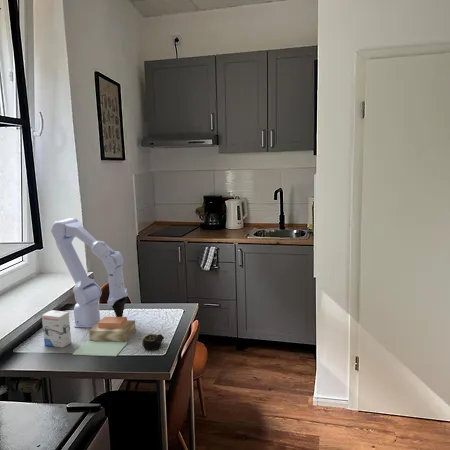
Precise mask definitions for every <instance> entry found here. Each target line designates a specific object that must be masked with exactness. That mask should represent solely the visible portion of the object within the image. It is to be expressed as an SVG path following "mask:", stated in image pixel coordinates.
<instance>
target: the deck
mask: <svg viewBox="0 0 450 450" xmlns="http://www.w3.org/2000/svg"><path fill="white" fill-rule="evenodd" d="M100 321H101V320H100ZM136 326H137V325H136V320H135V319H134V320H132V319H131V320H129V319H127V323H126V324H125V325H124V326H123V327H122V328H98V323H97V324H96V325H95V326H94V327H90V329H89V330H88V334H89V341H100V342H127V341H128V340H129V339H130V338H131V337H132V335H133V334H134V333H135V332H136V331H137V327H136Z"/></svg>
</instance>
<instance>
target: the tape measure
mask: <svg viewBox="0 0 450 450" xmlns="http://www.w3.org/2000/svg"><path fill="white" fill-rule="evenodd" d="M164 339H165V338H164V335H162V334H160V333H159V334H155V333H151V334H147V335H145V336H143V339H142V346H143V348H144V349H145V350H149V351H152V350H158V349H160V348H161V346H162V343H163V340H164Z"/></svg>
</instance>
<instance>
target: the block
mask: <svg viewBox="0 0 450 450" xmlns="http://www.w3.org/2000/svg"><path fill="white" fill-rule="evenodd" d="M101 319H102V320H101V321H99V322H98V328H122V327H123V326H124V325H125V324H126V323H127V320H128V316H122V317H116V316H104V317H103V318H101Z"/></svg>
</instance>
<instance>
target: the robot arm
mask: <svg viewBox="0 0 450 450" xmlns="http://www.w3.org/2000/svg"><path fill="white" fill-rule="evenodd" d="M50 232H51V234H52V237H53V238H54V240H55V245H56V247H57V249H58V251H59V253H60V255H61V257H62V259H63V261H64V263H65V266H66V267H67V269H68V271H69V273H70V275H71V277H72V280H73V281H74V287H73V289H72V293H73V294H74V300H75V302H76V303H75V305H74V308H73V318H74V324H75V325H74V328H93V327H94V326H95V325H96V324H97V323H98V322H99V321H100V320H102V319H103V318H101V314H100V304H99V301H100V298H101V296H102V294H103V293H102V288H101V286H100V285H98V284H97V283H96V280H95V279H92V278H90V277H89V275H88V274H87V271H86V270H85V268H84V266H83V263H82V261H81V260H80V258H79V255H78V254H77V251H76V249H75V247H74V245H73V240H74V239H75V238H77V239H79V240H80V241H82V242H83V243H84V244H85V245H87V246H89V248H90V252H91V253H92V254H93V255H94V256H96V257H97V258H98V259H99V260H101V261H102V264H103V267H104V268H105V270H106V273H107V281H108V287H109V288H108V289H109V290H108V291H109V296H108V300H106V302H107V306H108V307H109V306H111V307H112V310H113V312H114V314H115V317H124V310H125V304H126V302H127V300H128V299H127V297H128V296H129V294H128V288H126V287H125V280H124V271H123V270H124V267H123V266H124V264H125V262H126V258H125V255H124V254H123V253H122V252H121V251H116V250H114V249H113V248H111V247H110V246H109V245H108V244H106V241H104V240H103V241H102V240H97V239H96V238H95V237H94V236H93V235H92V234H91V233H90V232H88V231H87V230H86V229H85V228H84V226H83V223H82V222H81V221H80V220H78V218H76V217H70V218H66V219H63V220H56V221H54V222H53V223H52V225H51V229H50Z"/></svg>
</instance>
